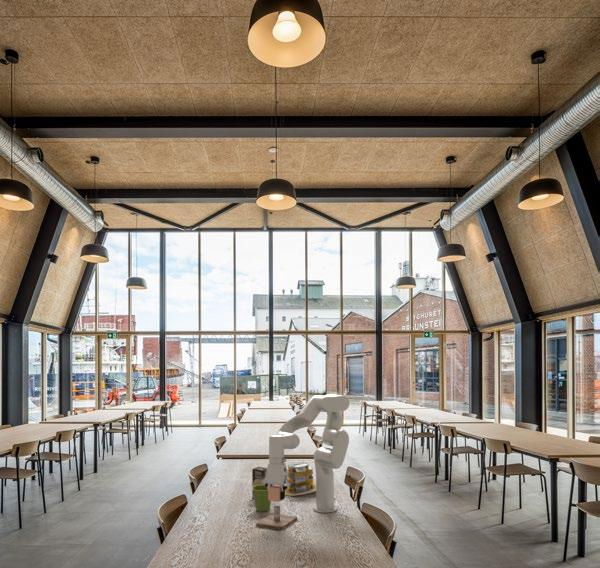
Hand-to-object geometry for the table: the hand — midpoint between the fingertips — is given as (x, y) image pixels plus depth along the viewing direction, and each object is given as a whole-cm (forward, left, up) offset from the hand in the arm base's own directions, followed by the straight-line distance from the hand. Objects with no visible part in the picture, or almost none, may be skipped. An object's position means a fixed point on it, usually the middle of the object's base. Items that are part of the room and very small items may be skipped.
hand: (276, 498), depth 245 cm
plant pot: (-15, -17, -12) cm, 26 cm away
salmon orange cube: (0, 0, -1) cm, 1 cm away
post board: (0, 0, -12) cm, 12 cm away
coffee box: (-33, -29, -12) cm, 46 cm away
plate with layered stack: (-54, -13, -12) cm, 57 cm away
